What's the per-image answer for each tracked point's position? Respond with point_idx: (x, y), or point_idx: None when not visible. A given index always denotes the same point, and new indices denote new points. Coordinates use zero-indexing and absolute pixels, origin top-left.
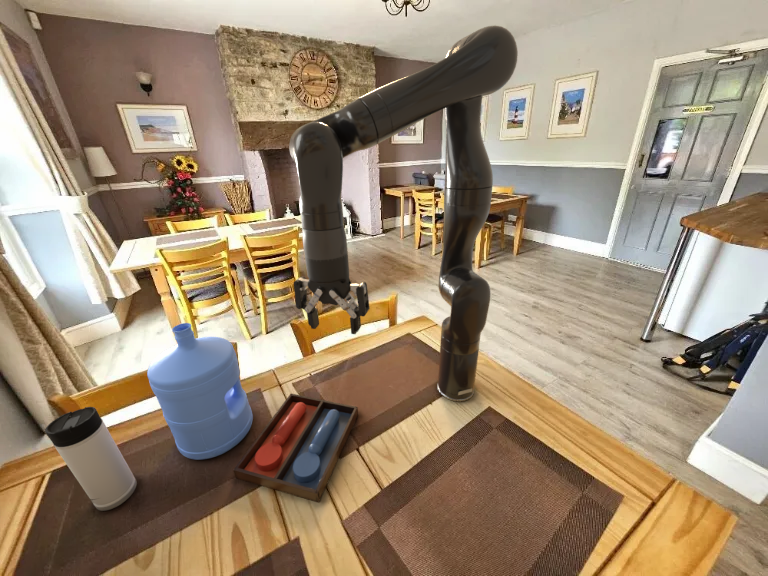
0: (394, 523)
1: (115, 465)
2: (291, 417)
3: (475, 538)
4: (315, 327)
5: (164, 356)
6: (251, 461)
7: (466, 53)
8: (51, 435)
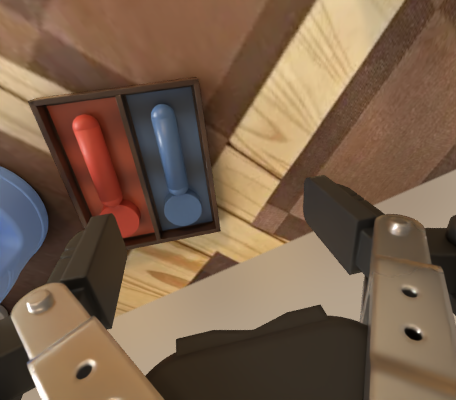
0: (302, 204)
1: None
2: (98, 163)
3: (379, 182)
4: (123, 246)
5: None
6: None
7: None
8: None
